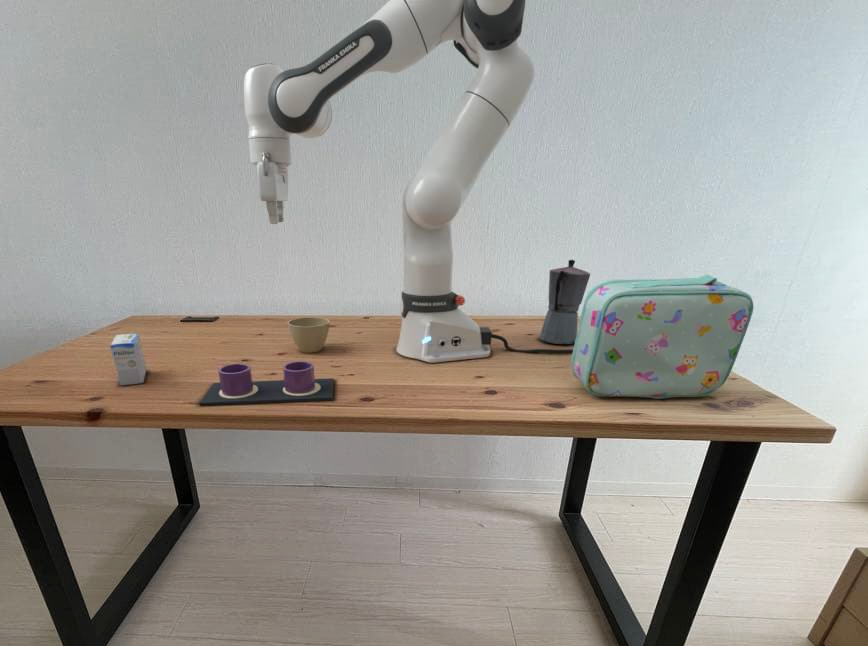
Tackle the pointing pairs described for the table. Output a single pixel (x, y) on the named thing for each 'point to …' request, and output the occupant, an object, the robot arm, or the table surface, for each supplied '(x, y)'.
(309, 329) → the flower pot
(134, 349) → the medicine box
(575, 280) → the moka pot
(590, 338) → the lunch box
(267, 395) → the mat
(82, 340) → the table surface
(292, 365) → the purple cup
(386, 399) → the table surface
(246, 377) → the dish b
